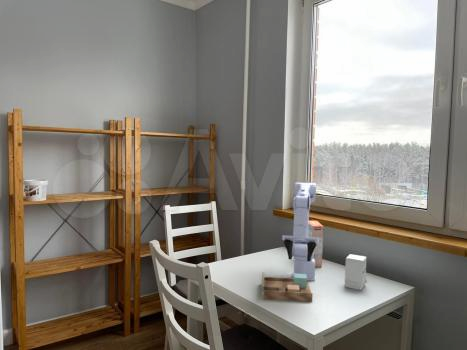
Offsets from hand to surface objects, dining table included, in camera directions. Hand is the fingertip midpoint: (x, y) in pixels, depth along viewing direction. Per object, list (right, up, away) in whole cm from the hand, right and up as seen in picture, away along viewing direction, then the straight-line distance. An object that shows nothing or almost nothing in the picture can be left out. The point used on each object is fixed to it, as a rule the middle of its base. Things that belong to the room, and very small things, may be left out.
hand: (299, 260), depth 139 cm
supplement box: (+26, -14, +12) cm, 32 cm away
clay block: (-3, -14, -1) cm, 15 cm away
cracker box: (+15, -12, +42) cm, 46 cm away
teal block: (+1, -12, +6) cm, 13 cm away
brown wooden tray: (-5, -14, +3) cm, 15 cm away
